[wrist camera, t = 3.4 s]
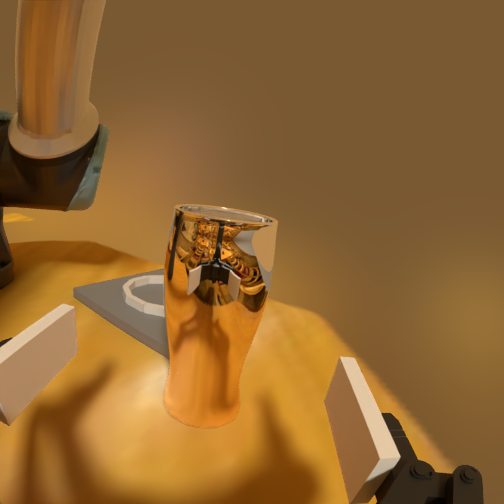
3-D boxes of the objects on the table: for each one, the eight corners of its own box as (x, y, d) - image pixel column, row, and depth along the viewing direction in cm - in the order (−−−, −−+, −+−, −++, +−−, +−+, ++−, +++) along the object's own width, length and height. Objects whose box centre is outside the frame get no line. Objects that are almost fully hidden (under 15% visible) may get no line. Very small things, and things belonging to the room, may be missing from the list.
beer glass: (198, 369, 28) (219, 204, 25) (261, 404, 24) (300, 222, 21) (139, 398, 22) (148, 202, 19) (206, 447, 18) (238, 225, 15)
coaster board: (73, 296, 37) (73, 280, 36) (165, 274, 52) (166, 262, 52) (170, 359, 28) (171, 339, 28) (259, 311, 44) (262, 296, 44)
